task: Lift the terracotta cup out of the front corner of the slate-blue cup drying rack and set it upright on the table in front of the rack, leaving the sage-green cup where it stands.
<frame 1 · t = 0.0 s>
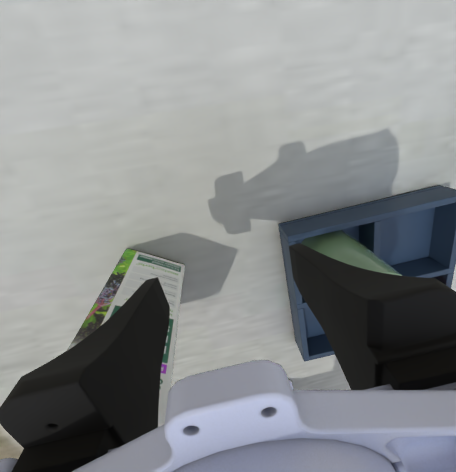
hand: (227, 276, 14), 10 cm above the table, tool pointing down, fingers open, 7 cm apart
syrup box: (150, 279, 25), on the table
cup rack: (358, 272, 27), on the table
sage cup: (324, 252, 25), resting on cup rack
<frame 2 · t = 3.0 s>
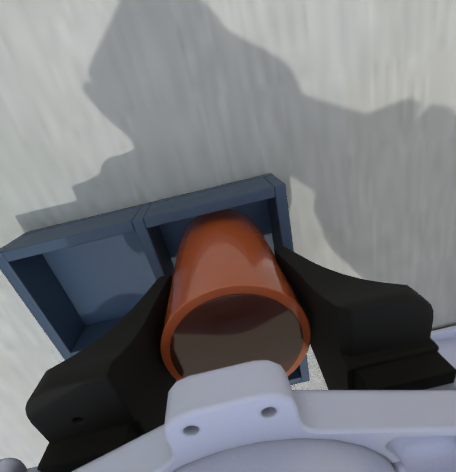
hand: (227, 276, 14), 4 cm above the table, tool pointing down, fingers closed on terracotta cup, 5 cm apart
terracotta cup: (222, 249, 17), point 1 cm above the table, touching cup rack, gripper
cup rack: (184, 301, 19), on the table
when the fingers open (3 cm above the table, at t = 7.7 s): terracotta cup stays where it is, on the table.
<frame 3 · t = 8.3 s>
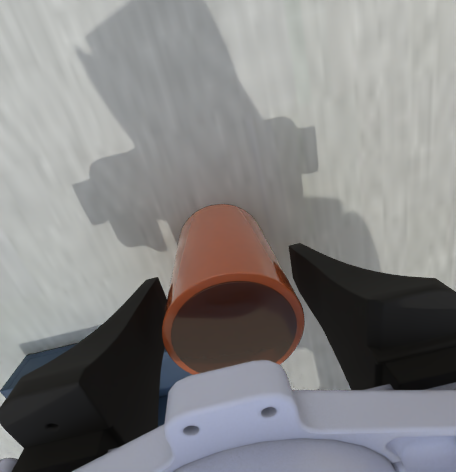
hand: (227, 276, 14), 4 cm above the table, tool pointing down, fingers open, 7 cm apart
terracotta cup: (221, 243, 17), on the table
cup rack: (156, 394, 23), on the table
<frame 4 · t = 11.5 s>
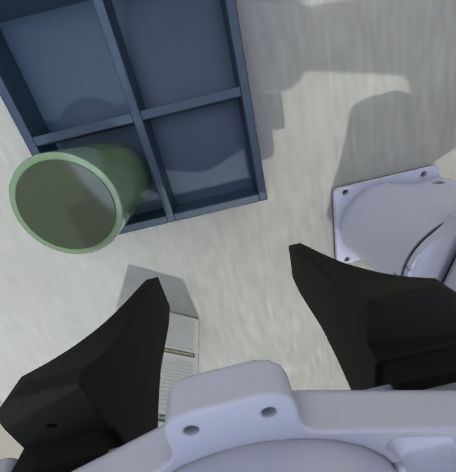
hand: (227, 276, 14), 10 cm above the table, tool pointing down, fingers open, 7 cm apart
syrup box: (168, 330, 29), on the table
cup rack: (146, 117, 20), on the table
sage cup: (116, 177, 21), resting on cup rack
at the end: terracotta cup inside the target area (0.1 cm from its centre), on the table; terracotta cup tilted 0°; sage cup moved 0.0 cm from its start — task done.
